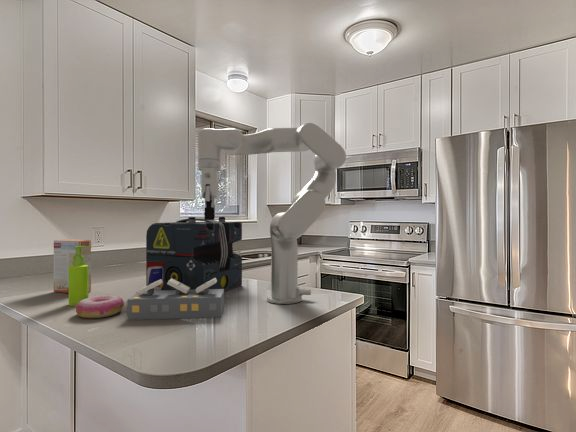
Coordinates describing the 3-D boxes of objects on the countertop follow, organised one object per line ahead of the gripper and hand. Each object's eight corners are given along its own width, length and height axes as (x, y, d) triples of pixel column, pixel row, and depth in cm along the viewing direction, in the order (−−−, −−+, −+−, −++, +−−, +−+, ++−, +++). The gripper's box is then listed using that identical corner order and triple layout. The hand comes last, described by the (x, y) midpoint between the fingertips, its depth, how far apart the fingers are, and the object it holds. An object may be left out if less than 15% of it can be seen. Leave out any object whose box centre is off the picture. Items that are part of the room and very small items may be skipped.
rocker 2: (188, 291, 114) (190, 287, 114) (186, 293, 110) (188, 289, 110) (169, 281, 113) (171, 277, 113) (166, 283, 109) (169, 280, 109)
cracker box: (92, 291, 143) (91, 239, 143) (78, 294, 137) (78, 240, 137) (67, 289, 148) (66, 238, 148) (52, 292, 142) (52, 239, 142)
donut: (106, 306, 120) (106, 291, 120) (133, 311, 114) (133, 296, 114) (66, 316, 108) (65, 300, 108) (93, 323, 102) (93, 305, 102)
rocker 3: (217, 280, 115) (215, 277, 115) (216, 283, 111) (213, 279, 111) (198, 290, 114) (196, 287, 114) (196, 293, 110) (194, 289, 110)
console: (223, 306, 119) (223, 284, 119) (220, 317, 107) (220, 292, 107) (140, 309, 116) (140, 286, 116) (127, 320, 104) (127, 294, 104)
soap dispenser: (94, 303, 124) (93, 245, 124) (71, 306, 119) (71, 247, 119) (88, 300, 128) (88, 244, 128) (66, 303, 123) (66, 246, 123)
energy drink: (158, 303, 124) (157, 268, 124) (144, 302, 125) (144, 268, 125) (166, 299, 130) (166, 266, 129) (152, 298, 131) (152, 266, 131)
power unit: (145, 293, 141) (145, 217, 141) (190, 281, 166) (190, 216, 166) (204, 299, 130) (204, 217, 130) (242, 285, 155) (242, 216, 155)
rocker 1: (163, 282, 113) (161, 278, 113) (159, 284, 109) (157, 280, 109) (143, 291, 113) (141, 287, 112) (139, 294, 109) (137, 290, 108)
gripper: (218, 162, 114) (218, 220, 114) (222, 168, 129) (222, 219, 129) (194, 162, 114) (194, 220, 114) (201, 168, 128) (201, 219, 129)
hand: (209, 219), depth 121 cm, fingers closed
